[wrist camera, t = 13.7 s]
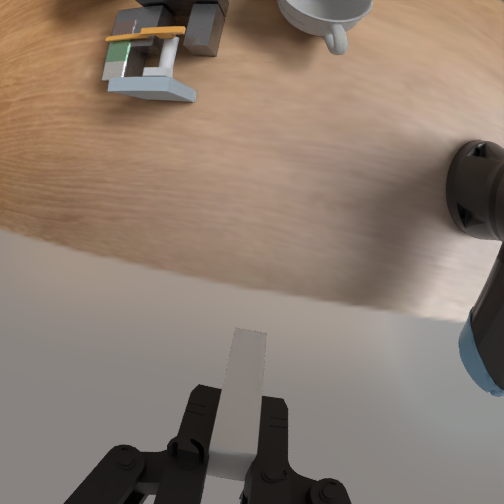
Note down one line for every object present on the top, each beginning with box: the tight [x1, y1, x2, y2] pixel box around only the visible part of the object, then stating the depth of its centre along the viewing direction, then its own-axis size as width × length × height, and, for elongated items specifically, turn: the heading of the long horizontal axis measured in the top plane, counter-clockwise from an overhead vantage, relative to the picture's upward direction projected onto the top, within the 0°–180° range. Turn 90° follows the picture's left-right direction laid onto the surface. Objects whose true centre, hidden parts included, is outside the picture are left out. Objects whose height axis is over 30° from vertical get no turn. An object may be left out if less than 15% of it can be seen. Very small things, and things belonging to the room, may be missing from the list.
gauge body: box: [101, 0, 229, 82], centre depth 26 cm, size 14×13×9 cm
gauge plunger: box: [108, 37, 197, 102], centre depth 27 cm, size 7×8×10 cm
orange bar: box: [106, 26, 186, 42], centre depth 25 cm, size 11×1×2 cm, turn 80°
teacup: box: [277, 0, 373, 55], centre depth 24 cm, size 14×11×8 cm
